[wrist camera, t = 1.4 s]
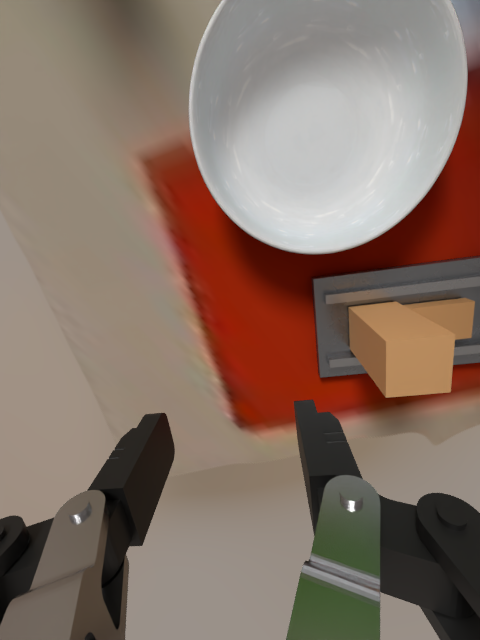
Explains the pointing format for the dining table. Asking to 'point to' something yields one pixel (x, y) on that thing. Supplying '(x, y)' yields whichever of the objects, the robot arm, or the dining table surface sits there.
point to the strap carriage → (410, 343)
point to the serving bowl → (326, 114)
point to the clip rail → (389, 286)
